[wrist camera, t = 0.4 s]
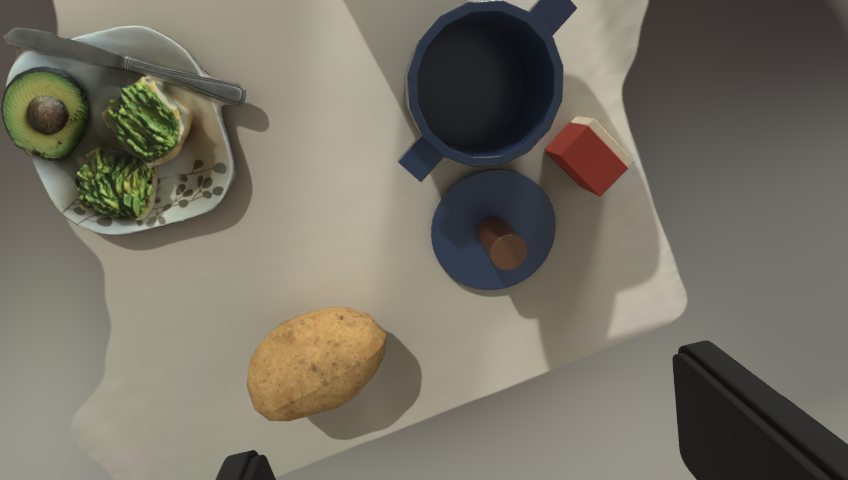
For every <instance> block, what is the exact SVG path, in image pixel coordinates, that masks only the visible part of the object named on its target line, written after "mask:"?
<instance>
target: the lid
mask: <svg viewBox="0 0 848 480" xmlns="http://www.w3.org/2000/svg"><path fill="white" fill-rule="evenodd" d="M554 235H555V217H554V212H553V209H552V205H551V203H550V201H549V199H548V197H547V196H546V194H545V193H544V191H543V190H542V189H541V188H540V187H539V186H538V185H537V184H536V183H534V182H533V181H532V180H530V179H529V178H527V177H525V176H524V175H521V174H519V173H516V172H513V171H509V170H502V169H492V170H484V171H480V172H477V173H474V174H472V175H469V176H467V177H465V178H464V179H462V180H460V181H459V182H458V183H456V184H455V185H454V186H453V187H452V188H450V189H449V190H448V191H447V193H446V194H445V195H444V196H443V198H442V199H441V201H440V203H439V204H438V206H437V209H436V211H435V214H434V217H433V221H432V227H431V238H432V245H433V249H434V252H435V255H436V257H437V259H438V261H439V263H440V264H441V266H442V267H443V268H444V270H445V271H446V272H447V273H448V274H449V275H450V276H451V277H453V278H454V279H455V280H457V281H458V282H460V283H462V284H464V285H466V286H469V287H472V288H476V289H483V290H496V289H503V288H507V287H510V286H513V285H515V284H517V283H519V282H521V281H523V280H525V279H526V278H528V277H529V276H530V275H532V274H533V273H534V272H535V271H536V270H537V269H538V268H539V267H540V266H541V264H542V263H543V262H544V260H545V259H546V257H547V255H548V253H549V251H550V249H551V246H552V244H553V240H554Z"/></svg>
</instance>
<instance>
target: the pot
mask: <svg viewBox="0 0 848 480" xmlns="http://www.w3.org/2000/svg"><path fill="white" fill-rule="evenodd" d="M576 9H577V7H576V6H575V5H574V4H573V3H572V1H571V0H538V1H537V2H536V3H535V4H534V5H533V6H532V7H531V9H530V10H529V11H526V10H524V9H521V8H519V7H517V6H514V5H512V4H510V3H507V2H505V1H501V0H495V1H472V2H467V3H465V4H464V5H462V6H460V7H458V8H456V9H454V10H452V11H450V12H448V13H446V14H444V15H442V16H440V17H439V18H438V19H437V20H436V22H435V23H434V24H433V25H432V26H431V28H430V29H429V30H428V31H427V32H426V34H425V35H424V36H423V37H422V38H421V40H420V41H419V42H418V44H417V45H416V47H415V49H414V51H413V53H412V55H411V58H410V61H409V64H408V68H407V71H406V74H405V77H404V78H405V79H404V87H405V103H406V107H407V109H408V111H409V114H410V116H411V118H412V120H413V122H414V124H415V126H416V128H417V130H418V131H419V132H420V135H419V137H418V138H417V139H416V140H415V141H414V142H413V143H412V145H411V146H410V147H409V148H408V149H407V150H406V151H405V153H404V154H403V155H402V156H401V157H400V158H399V159H398V162H399V163H400V164H401V165H402V166H403V167H404V168H405V169H406V170H407V171H409V172H410V173H411V174H412V175H413V176H414V177H415V178H417V179H418V180H419V181H420V182H422V181H423V179H424V178H425V177H426V176H427V175H428V174H429V173H430V172H431V171H432V169H433V168H434V167H435V166H436V165H437V164H438V163H439V162H440V161H441V159H442V158H443V157H446V158H449V159H452V160H455V161H457V162H460V163H463V164H466V165H469V166H473V167H476V166H492V165H501V164H505V163H507V162H509V161H511V160H513V159H515V158H517V157H519V156H521V155H523V154H525V153H527V152H528V151H530V150H531V149H532V148H533V147H534V146H535V144H536V143H537V142H538V141H539V140H540V139H541V138H542V137H543V136H544V135H545V134H546V133H547V132H548V131H549V129H550V128H551V125H552V123H553V121H554V118H555V116H556V114H557V111H558V109H559V106H560V104H561V102H562V93H563V64H562V61H561V58H560V56H559V53H558V50H557V47H556V44H555V41H554V38H553V37H552V36H553V35H554V34H555V32H556V31H557V30H558V29H559V28H560V27H561V26H562V25H563V24H564V22H565V21H566V20H567V19H568V18H569V17H570V16H571V15H572V13H573V12H574V11H575V10H576Z"/></svg>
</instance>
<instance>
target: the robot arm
mask: <svg viewBox="0 0 848 480" xmlns="http://www.w3.org/2000/svg"><path fill="white" fill-rule="evenodd" d="M673 373H674V385H675V398H676V411H677V424H678V435H679V449H680V454H681V457H682V459H683V461H684V463H685V465H686V467H687V468H688V469H689V471H690V472H691V473H692V474H693V476H694V477H695V478H696V479H697V480H848V444H846V443H845V442H844V441H843V440H841V439H840V438H839V437H837V436H836V435H835V434H833V433H832V432H831V431H829V430H828V429H827V428H825V427H824V426H823V425H821V424H820V423H819V422H817V421H816V420H815V419H813V418H812V417H811V416H809V415H808V414H807V413H805V412H804V411H803V410H802V409H800V408H799V407H798V406H796V405H795V404H794V403H792V402H791V401H790V400H788V399H787V398H785V397H784V396H782V395H781V394H779V393H778V392H776V391H775V390H774V389H772V388H771V387H770V386H769V385H767V384H766V383H765V382H763V381H762V380H761V379H759V378H758V377H757V376H755V375H754V374H752V373H751V372H750V371H749V370H747V369H746V368H745V367H743V366H742V365H741V364H739V363H738V362H737V361H736V360H734V359H733V358H732V357H730V356H729V355H728V354H726V353H725V352H724V351H722V350H721V349H720V348H718V347H717V346H716V345H714V344H713V343H711V342H710V341H701V342H697V343H693V344H688V345H685V346H681V347H680V348H679V350H678V354H676V355H674V356H673ZM216 480H276V479H275V477H274V474H273V472H272V470H271V467H270V465H269V462H268V460H267V458H266V456H264V455H260V456H259V455H258V453H257V452H256V451H255V450H251V451H247V452H243V453H239V454H235V455H231V456H228V457H227V458H226V459H225V461H224V462H223V465H222V467H221V469H220V471H219V473H218V475H217V478H216Z"/></svg>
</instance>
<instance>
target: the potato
mask: <svg viewBox="0 0 848 480" xmlns="http://www.w3.org/2000/svg"><path fill="white" fill-rule="evenodd" d="M385 344H386V334H385V333H384V331H383V330H382V329H381V327H380V326H379V325H378V324H377V323H376V322H375V321H374V320H373V319H372V318H371V316H370V315H369V314H366V313H363V312H360V311H357V310H353V309H350V308H325V309H321V310H317V311H313V312H310V313H307V314H304V315H301V316H298V317H296V318H293V319H291V320H289V321H286V322H284V323H282V324H280V325H279V326H278V327H277V328H276V329H275V330H273V331H272V332H271V333H270V334H269V335H268V336H267V337H266V338H265V339H264V340H263V341H262V342H261V343H260V345H259V347H258V348H257V350H256V351H255V353H254V354H253V356H252V357H251V360H250V365H249V371H248V380H247V388H248V392H249V395H250V398H251V400H252V403H253V406H254V409H255V410H256V411H257V412H259V413H260V414H261V415H263V416H264V417H265V418H267V419H268V420H269V421H291V420H295V419H299V418H303V417H307V416H310V415H313V414H316V413H319V412H322V411H326V410H329V409H333V408H337V407H339V406H341V405H343V404H344V403H346V402H347V401H349V400H350V399H352V398H353V397H355V396H356V395H357V394H358V393H359V391H360V390H361V389H362V388H363V387H364V386H365V384H366V383H367V382H368V381H369V380H370V378H371V377H372V376H373V375H374V374H375V372H376V370H377V369H378V367H379V365H380V363H381V361H382V359H383V356H384V353H385Z"/></svg>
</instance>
